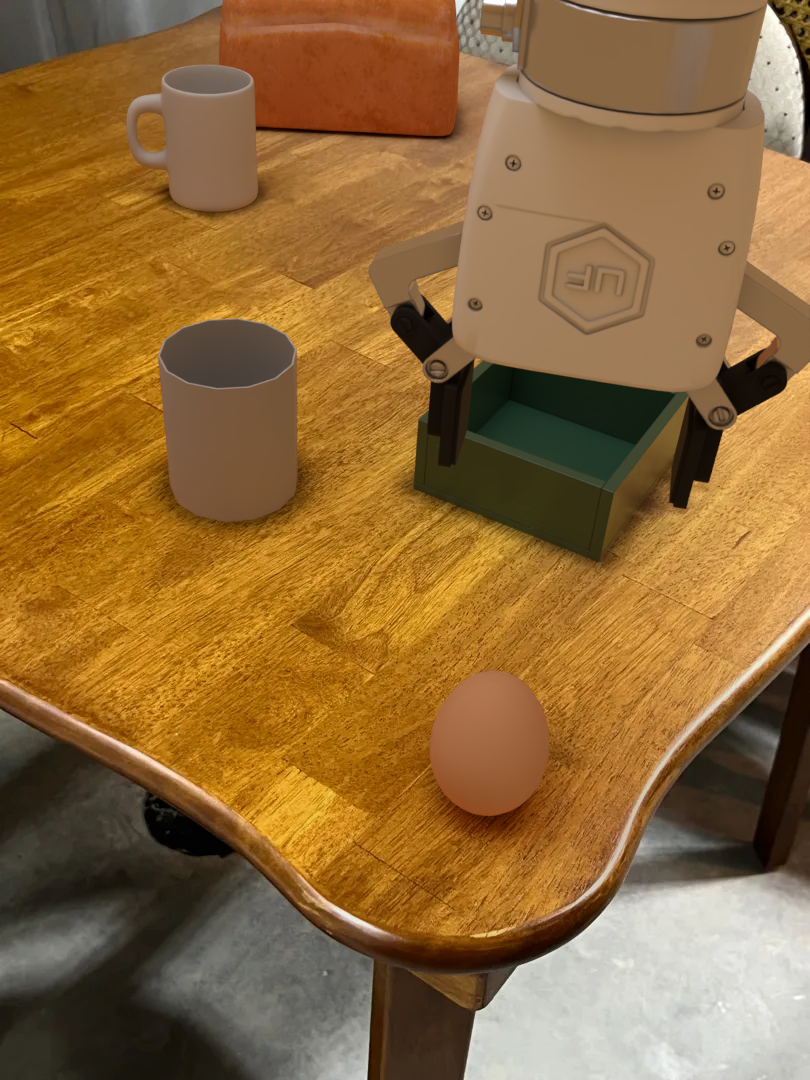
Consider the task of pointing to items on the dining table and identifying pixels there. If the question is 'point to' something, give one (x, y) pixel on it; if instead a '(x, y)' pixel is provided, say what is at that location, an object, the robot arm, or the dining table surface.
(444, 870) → the dining table surface
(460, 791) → the egg
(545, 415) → the dark green open crate
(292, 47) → the bread
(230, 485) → the cup
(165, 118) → the mug
